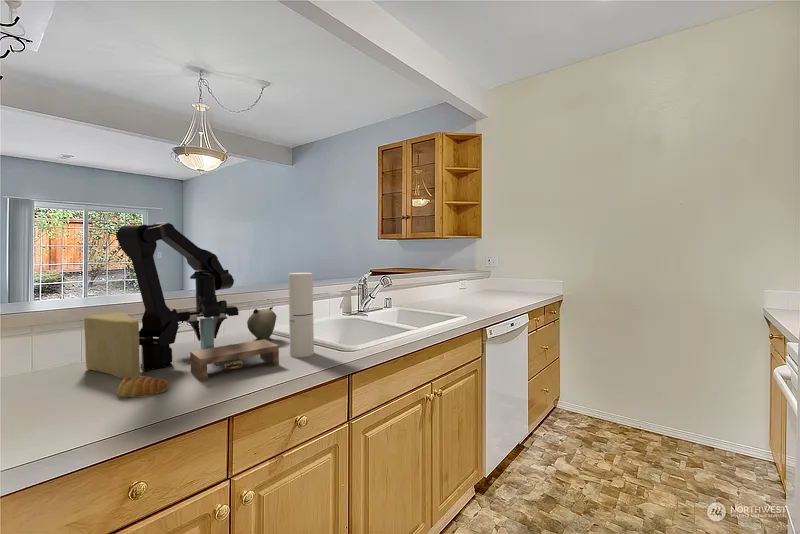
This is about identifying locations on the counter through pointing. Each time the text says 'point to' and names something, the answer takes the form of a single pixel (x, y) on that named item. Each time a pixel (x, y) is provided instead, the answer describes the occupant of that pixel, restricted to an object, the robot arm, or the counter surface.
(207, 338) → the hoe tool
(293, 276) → the cylindrical container
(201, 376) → the walnut shelf
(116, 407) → the counter surface
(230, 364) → the brass puck
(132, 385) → the pastry
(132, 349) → the cheese
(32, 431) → the counter surface
